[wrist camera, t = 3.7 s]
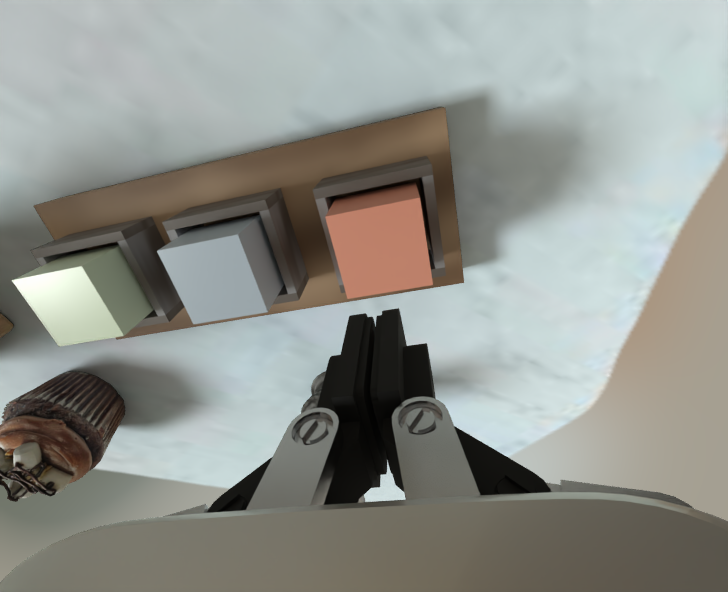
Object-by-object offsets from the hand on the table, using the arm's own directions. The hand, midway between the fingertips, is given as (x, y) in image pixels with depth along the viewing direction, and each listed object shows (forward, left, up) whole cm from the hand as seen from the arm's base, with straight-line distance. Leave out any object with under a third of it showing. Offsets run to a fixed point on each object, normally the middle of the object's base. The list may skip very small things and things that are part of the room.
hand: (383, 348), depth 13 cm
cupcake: (+14, -35, -18) cm, 42 cm away
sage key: (0, -20, -13) cm, 24 cm away
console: (0, -10, -18) cm, 20 cm away
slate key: (0, -10, -13) cm, 16 cm away
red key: (0, 0, -13) cm, 13 cm away
